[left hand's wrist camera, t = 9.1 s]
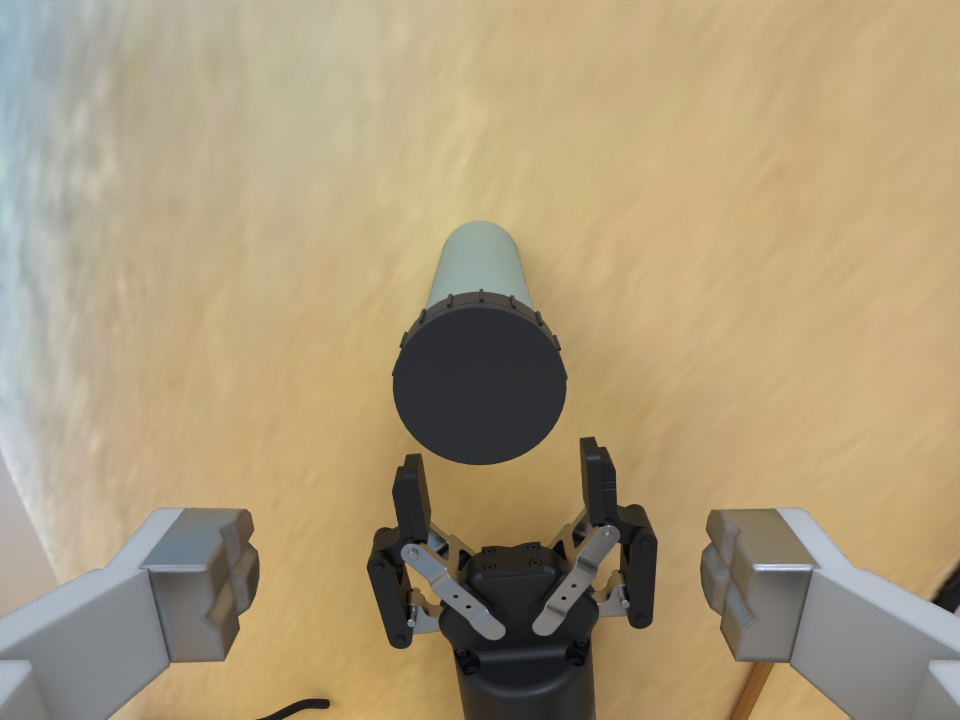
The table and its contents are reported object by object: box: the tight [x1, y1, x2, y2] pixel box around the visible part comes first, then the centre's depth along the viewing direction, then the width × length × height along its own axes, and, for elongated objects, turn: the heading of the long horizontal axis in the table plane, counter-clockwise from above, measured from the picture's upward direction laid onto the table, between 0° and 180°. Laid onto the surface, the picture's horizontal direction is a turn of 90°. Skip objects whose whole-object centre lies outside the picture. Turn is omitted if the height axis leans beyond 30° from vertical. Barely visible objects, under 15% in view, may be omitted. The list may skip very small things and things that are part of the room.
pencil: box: [730, 662, 775, 720], centre depth 42 cm, size 1×1×19 cm
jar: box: [425, 221, 535, 312], centre depth 25 cm, size 4×4×16 cm
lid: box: [392, 289, 567, 465], centre depth 17 cm, size 5×5×2 cm
